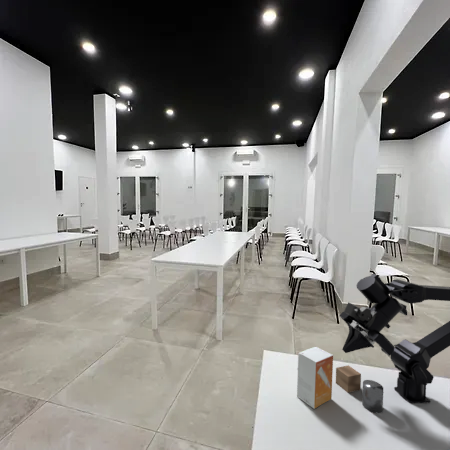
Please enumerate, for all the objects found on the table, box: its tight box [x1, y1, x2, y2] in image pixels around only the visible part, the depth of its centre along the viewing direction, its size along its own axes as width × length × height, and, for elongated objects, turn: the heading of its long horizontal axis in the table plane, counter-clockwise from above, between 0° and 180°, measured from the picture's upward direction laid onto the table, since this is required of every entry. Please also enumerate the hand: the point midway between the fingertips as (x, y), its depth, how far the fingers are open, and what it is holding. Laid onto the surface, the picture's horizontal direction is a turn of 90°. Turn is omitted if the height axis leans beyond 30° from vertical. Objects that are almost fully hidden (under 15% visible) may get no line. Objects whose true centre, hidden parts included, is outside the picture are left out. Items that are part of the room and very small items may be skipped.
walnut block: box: [335, 364, 362, 394], centre depth 81 cm, size 5×5×5 cm
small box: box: [296, 346, 334, 409], centre depth 75 cm, size 8×6×13 cm
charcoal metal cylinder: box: [361, 379, 384, 414], centre depth 72 cm, size 5×5×6 cm
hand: (343, 351), depth 76 cm, fingers closed
